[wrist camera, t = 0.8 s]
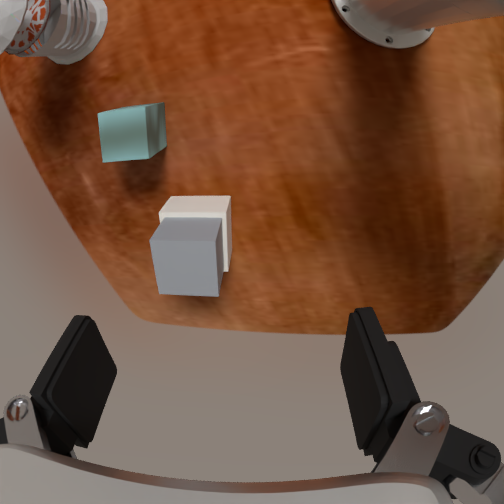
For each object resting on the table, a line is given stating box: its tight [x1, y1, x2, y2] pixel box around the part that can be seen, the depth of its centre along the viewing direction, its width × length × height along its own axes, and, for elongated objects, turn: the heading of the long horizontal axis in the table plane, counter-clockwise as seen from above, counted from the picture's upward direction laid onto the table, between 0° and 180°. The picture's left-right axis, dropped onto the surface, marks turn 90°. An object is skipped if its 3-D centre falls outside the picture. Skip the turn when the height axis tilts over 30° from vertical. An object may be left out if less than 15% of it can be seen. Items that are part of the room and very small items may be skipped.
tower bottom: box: [159, 196, 232, 272], centre depth 35 cm, size 7×7×5 cm
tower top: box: [150, 217, 224, 297], centre depth 31 cm, size 6×6×5 cm
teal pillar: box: [98, 102, 167, 163], centre depth 28 cm, size 5×5×6 cm
